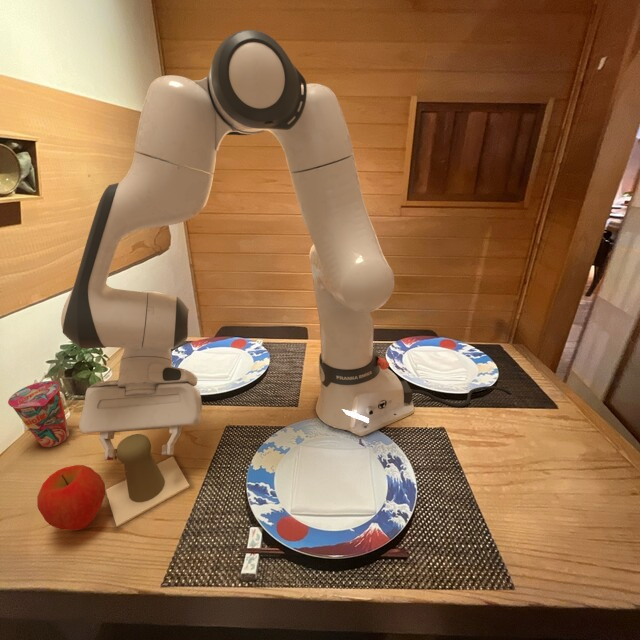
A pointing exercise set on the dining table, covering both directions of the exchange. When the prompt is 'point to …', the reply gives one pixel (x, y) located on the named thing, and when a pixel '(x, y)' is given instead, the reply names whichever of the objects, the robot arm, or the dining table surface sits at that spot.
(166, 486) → the napkin
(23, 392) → the cup
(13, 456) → the dining table surface
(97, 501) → the apple
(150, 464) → the pepper shaker
